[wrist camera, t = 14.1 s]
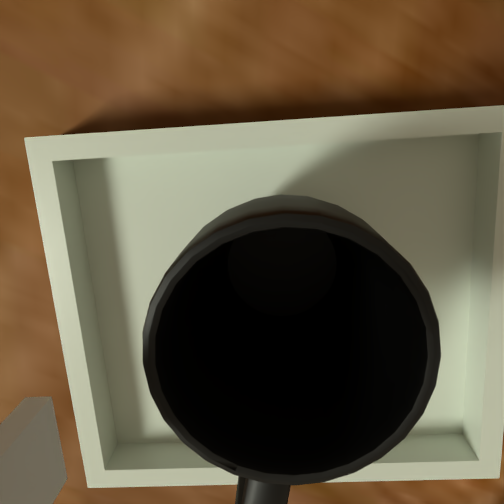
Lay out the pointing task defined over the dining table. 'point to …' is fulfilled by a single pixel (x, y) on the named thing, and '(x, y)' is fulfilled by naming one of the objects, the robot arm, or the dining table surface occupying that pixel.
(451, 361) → the tray
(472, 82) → the dining table surface
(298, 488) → the dining table surface
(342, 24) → the dining table surface
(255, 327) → the mug
